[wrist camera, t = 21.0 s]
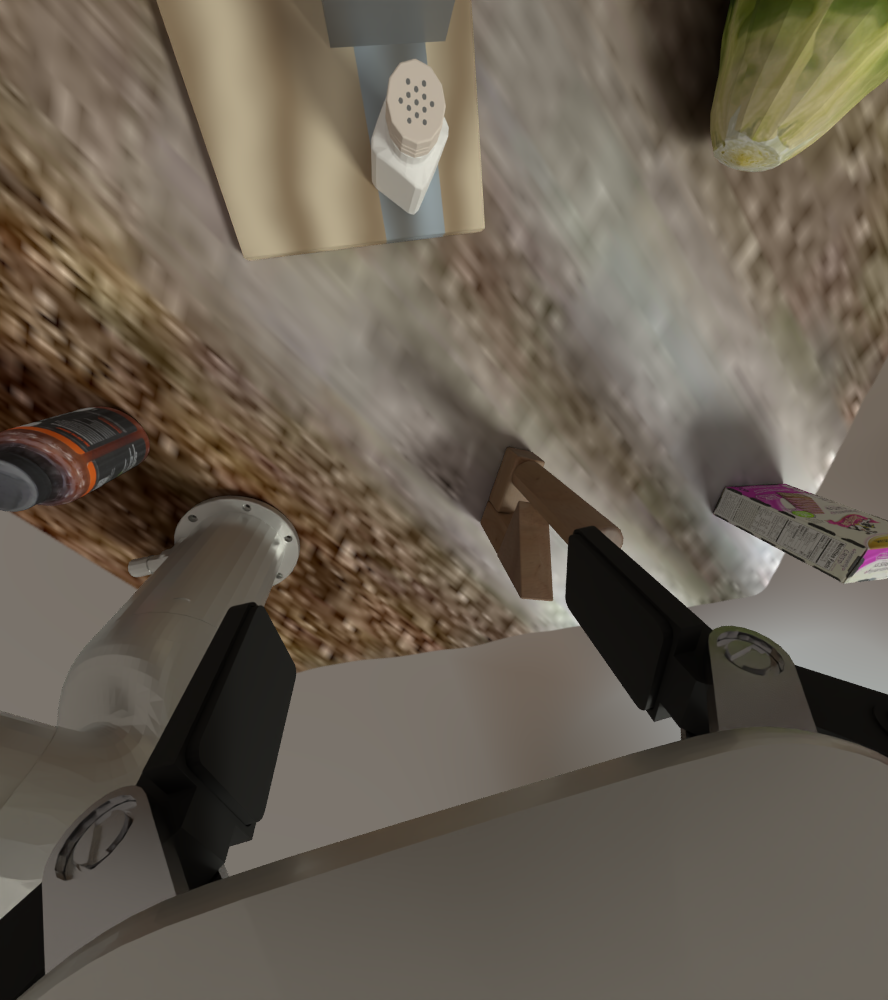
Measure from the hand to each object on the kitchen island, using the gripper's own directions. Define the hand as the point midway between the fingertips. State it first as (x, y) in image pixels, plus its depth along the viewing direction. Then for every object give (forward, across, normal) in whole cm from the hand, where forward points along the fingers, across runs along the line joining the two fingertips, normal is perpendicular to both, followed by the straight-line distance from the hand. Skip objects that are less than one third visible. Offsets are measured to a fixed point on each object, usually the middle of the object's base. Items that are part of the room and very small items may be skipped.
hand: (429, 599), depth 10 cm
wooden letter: (+29, -12, +12) cm, 33 cm away
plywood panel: (+28, -1, -24) cm, 37 cm away
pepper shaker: (+27, -5, -18) cm, 33 cm away
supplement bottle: (+28, +26, -2) cm, 39 cm away
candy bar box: (+28, -50, +22) cm, 62 cm away
